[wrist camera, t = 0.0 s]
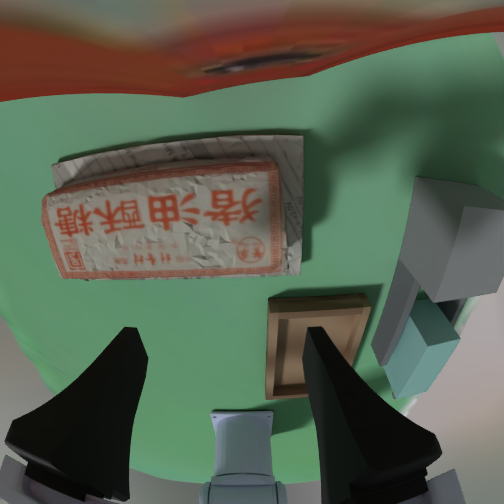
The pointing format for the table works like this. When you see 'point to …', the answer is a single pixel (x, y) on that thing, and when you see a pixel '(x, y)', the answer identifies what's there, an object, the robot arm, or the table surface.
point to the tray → (294, 333)
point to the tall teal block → (421, 350)
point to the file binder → (209, 40)
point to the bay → (443, 255)
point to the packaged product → (180, 210)
